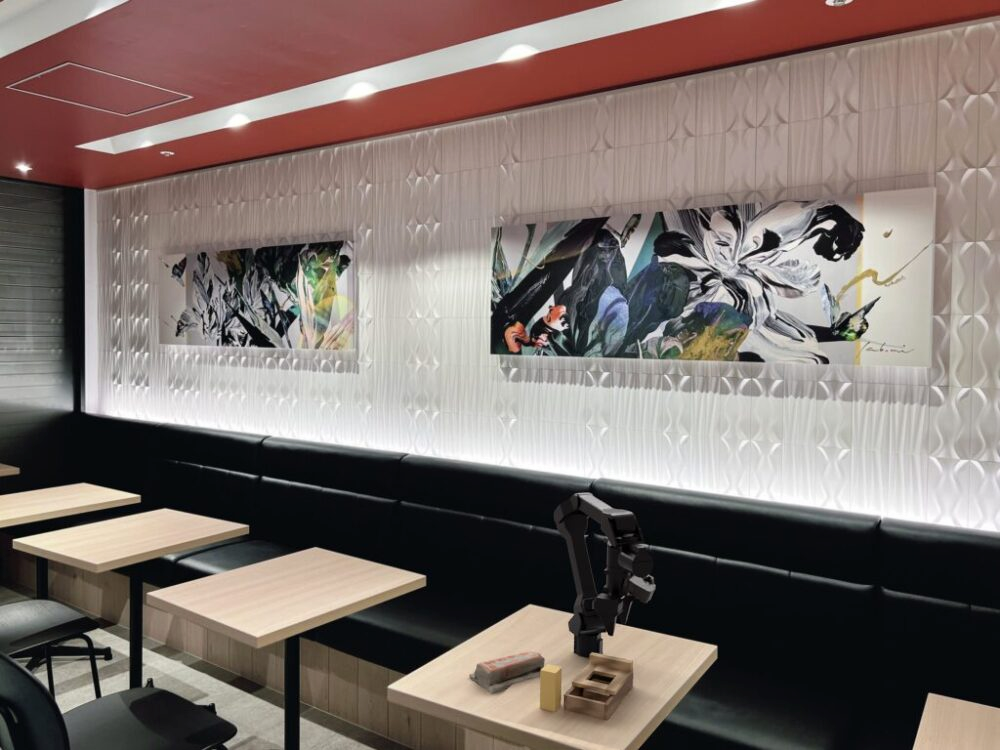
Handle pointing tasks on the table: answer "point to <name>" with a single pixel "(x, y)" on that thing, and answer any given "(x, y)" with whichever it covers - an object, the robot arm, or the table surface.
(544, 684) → the yellow rectangular block
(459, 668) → the table surface
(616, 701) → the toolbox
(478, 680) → the packaged product
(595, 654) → the lid
